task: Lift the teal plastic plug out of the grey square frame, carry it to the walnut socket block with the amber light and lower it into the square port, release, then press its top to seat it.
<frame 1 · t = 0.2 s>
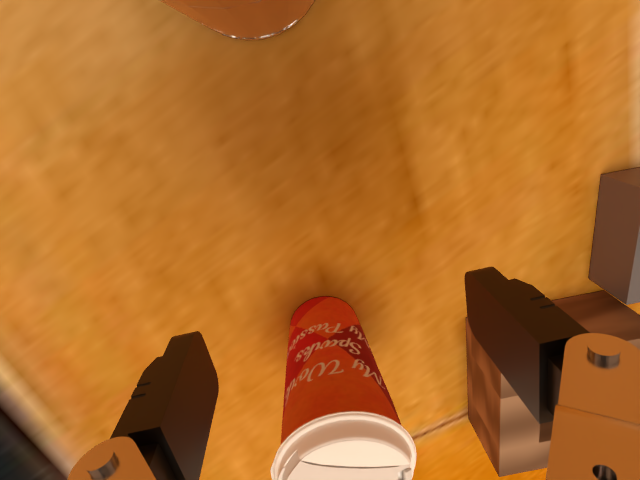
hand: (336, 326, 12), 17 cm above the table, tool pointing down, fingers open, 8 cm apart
port: (531, 358, 36), on the table
paper cup: (322, 323, 33), on the table
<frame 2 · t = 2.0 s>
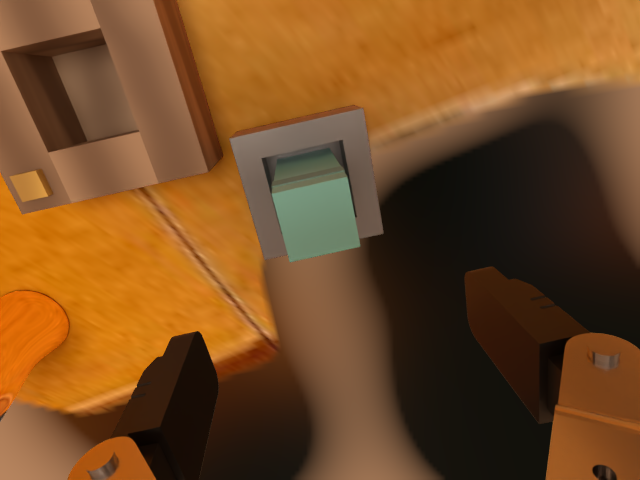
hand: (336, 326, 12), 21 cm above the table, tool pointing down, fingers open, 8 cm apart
plug: (308, 179, 31), point 1 cm above the table, touching grey square frame
port: (115, 91, 28), on the table
grey square frame: (308, 176, 31), on the table
beer glass: (33, 319, 35), on the table
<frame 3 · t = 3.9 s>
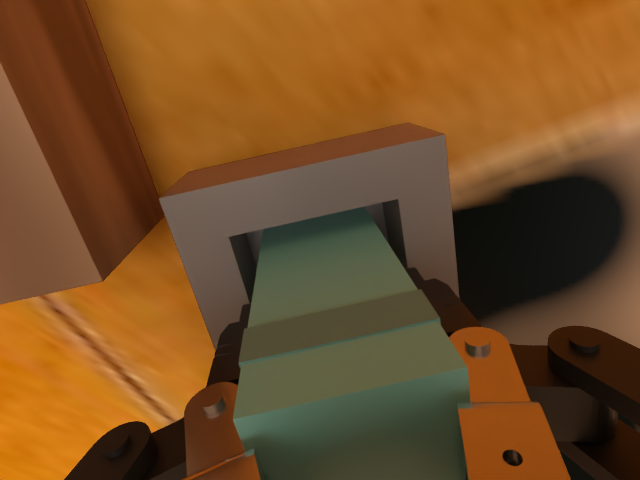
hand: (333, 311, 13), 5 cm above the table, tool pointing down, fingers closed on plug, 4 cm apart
plug: (322, 257, 17), point 1 cm above the table, touching gripper, grey square frame
grey square frame: (321, 248, 18), on the table
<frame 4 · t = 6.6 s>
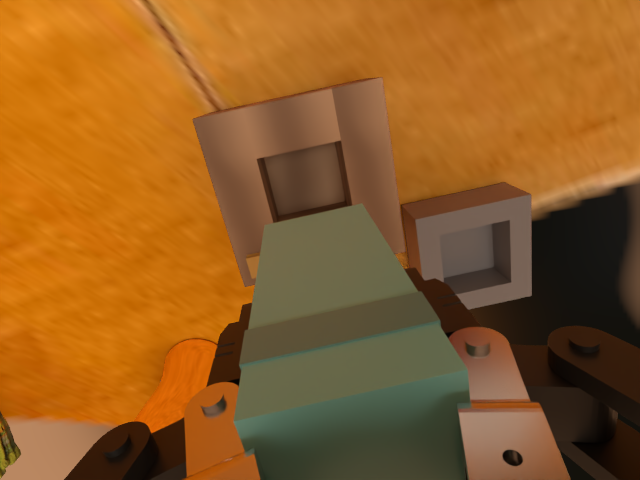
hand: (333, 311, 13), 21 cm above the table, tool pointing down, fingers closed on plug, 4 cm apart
plug: (323, 258, 17), point 17 cm above the table, touching gripper
port: (304, 172, 32), on the table
grey square frame: (456, 241, 36), on the table
beer glass: (198, 363, 39), on the table
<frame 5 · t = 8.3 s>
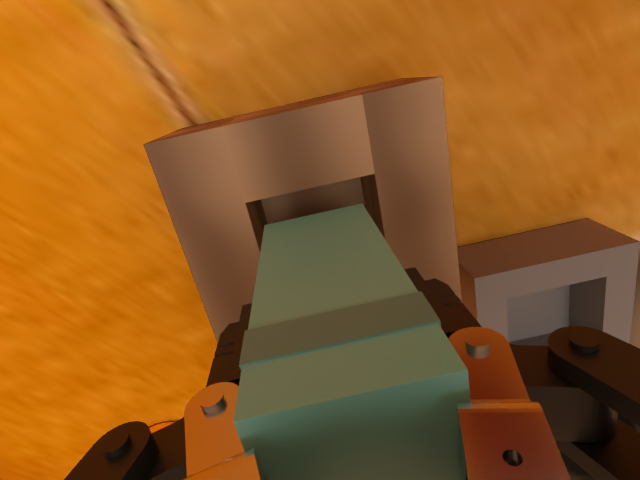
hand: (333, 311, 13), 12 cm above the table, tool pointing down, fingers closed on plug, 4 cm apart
plug: (323, 258, 17), point 7 cm above the table, touching gripper
port: (315, 208, 23), on the table
grey square frame: (518, 295, 27), on the table
when the fingers open (7 cm above the table, at t = 9.6 s): plug drops 2 cm, resting on port.
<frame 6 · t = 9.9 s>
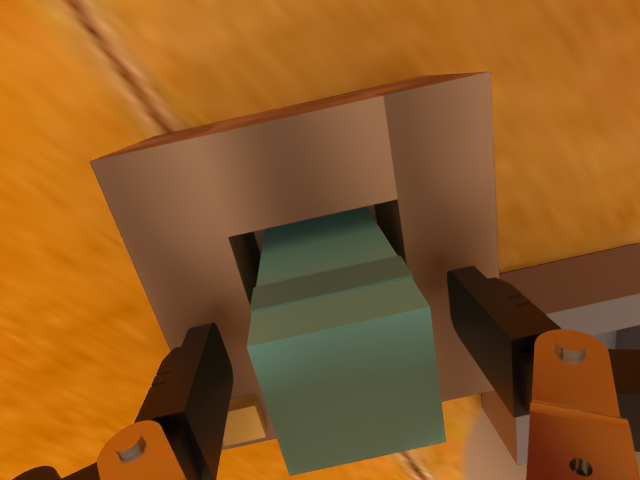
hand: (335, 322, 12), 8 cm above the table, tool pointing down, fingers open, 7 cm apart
plug: (320, 240, 18), point 1 cm above the table, touching port
port: (317, 233, 19), on the table
grey square frame: (555, 331, 23), on the table
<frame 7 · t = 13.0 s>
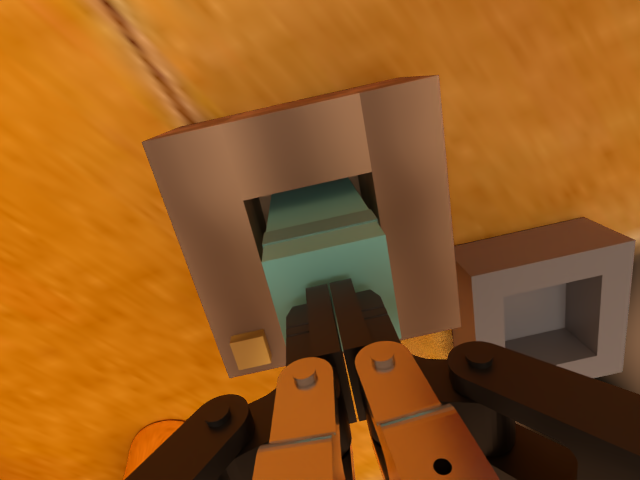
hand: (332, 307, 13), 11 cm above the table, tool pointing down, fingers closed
plug: (315, 212, 23), point 1 cm above the table, touching port
port: (313, 207, 23), on the table
grey square frame: (515, 293, 27), on the table
beer glass: (174, 448, 30), on the table
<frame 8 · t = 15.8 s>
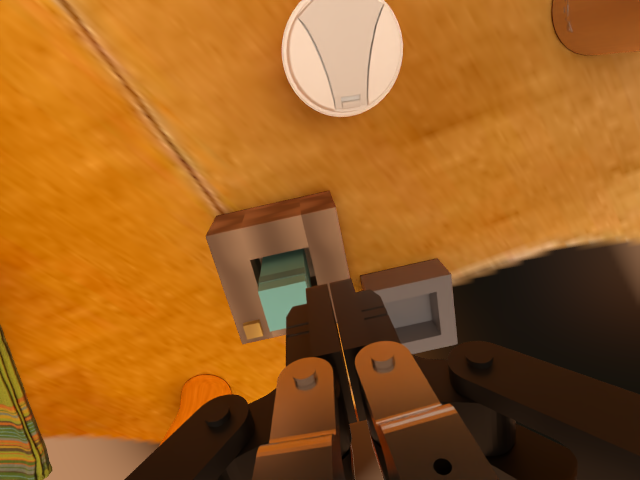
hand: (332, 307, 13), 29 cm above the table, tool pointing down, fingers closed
plug: (287, 258, 43), point 1 cm above the table, touching port
port: (286, 254, 44), on the table
paper cup: (324, 62, 37), on the table
grey square frame: (403, 300, 47), on the table
beer glass: (207, 392, 50), on the table
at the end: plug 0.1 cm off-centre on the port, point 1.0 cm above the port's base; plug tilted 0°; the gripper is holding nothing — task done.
